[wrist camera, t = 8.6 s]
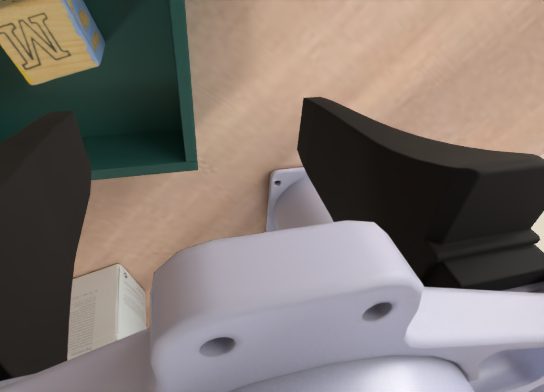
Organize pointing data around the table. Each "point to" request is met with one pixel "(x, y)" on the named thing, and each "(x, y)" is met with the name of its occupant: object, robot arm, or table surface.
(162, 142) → the tray
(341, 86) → the table surface
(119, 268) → the skincare box
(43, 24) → the alphabet block
